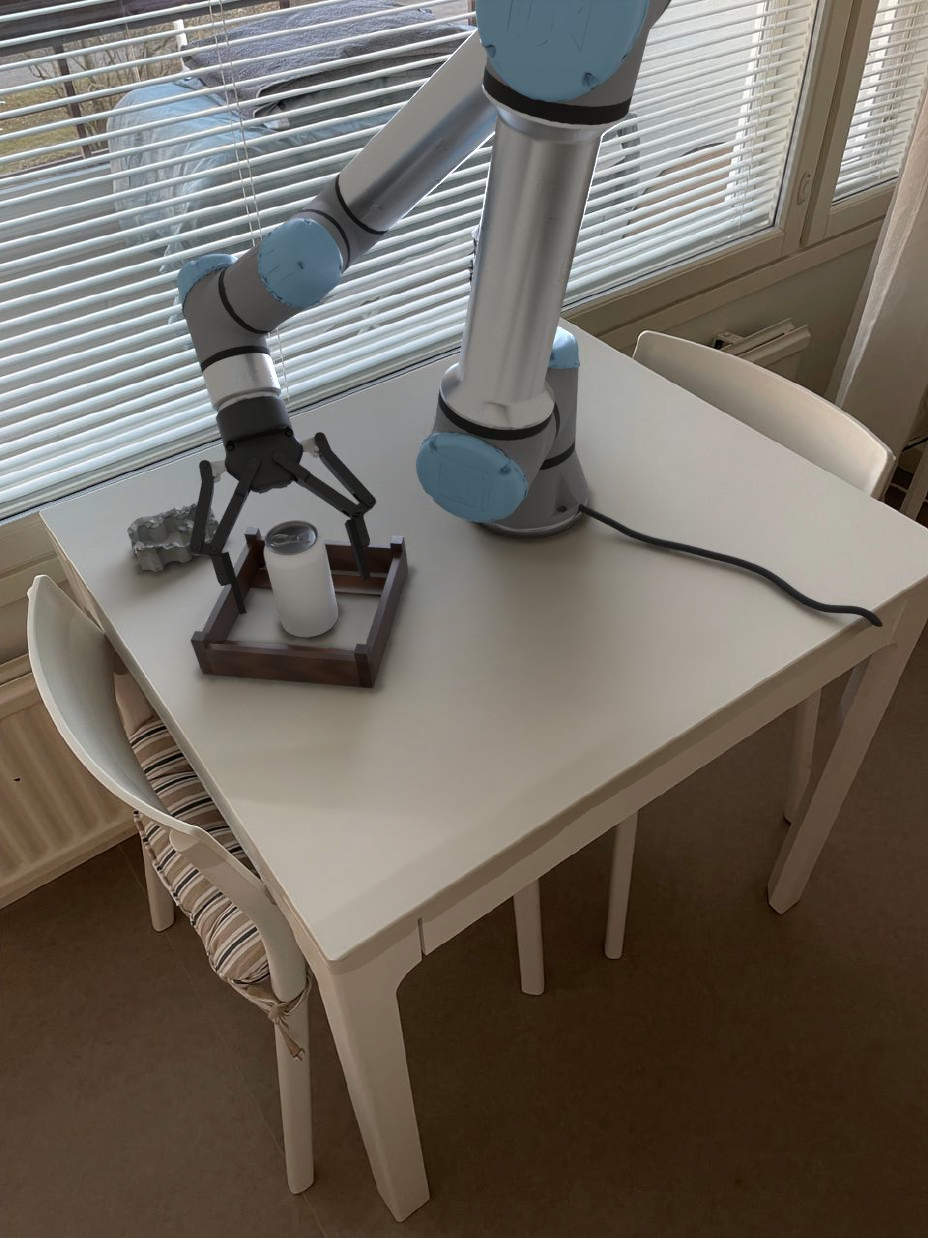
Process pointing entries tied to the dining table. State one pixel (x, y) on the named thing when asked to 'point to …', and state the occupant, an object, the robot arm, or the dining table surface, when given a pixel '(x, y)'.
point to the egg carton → (167, 536)
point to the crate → (302, 660)
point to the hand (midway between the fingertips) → (305, 595)
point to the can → (300, 578)
